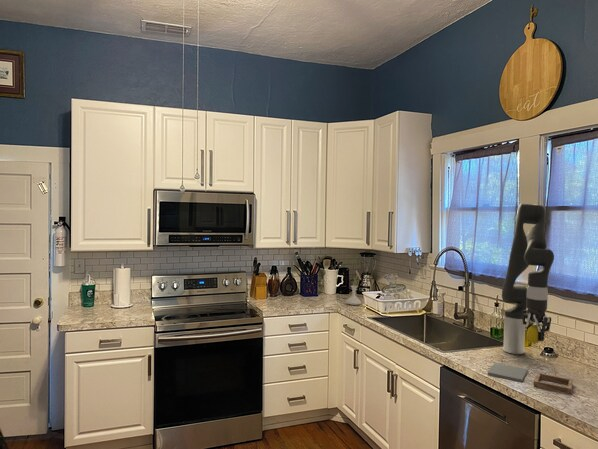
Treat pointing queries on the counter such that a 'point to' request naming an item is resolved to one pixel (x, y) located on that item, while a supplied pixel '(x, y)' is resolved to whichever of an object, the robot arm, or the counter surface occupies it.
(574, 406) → the counter surface
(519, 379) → the grey rectangular plate
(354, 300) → the flower in vase
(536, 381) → the walnut collar
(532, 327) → the lemon
